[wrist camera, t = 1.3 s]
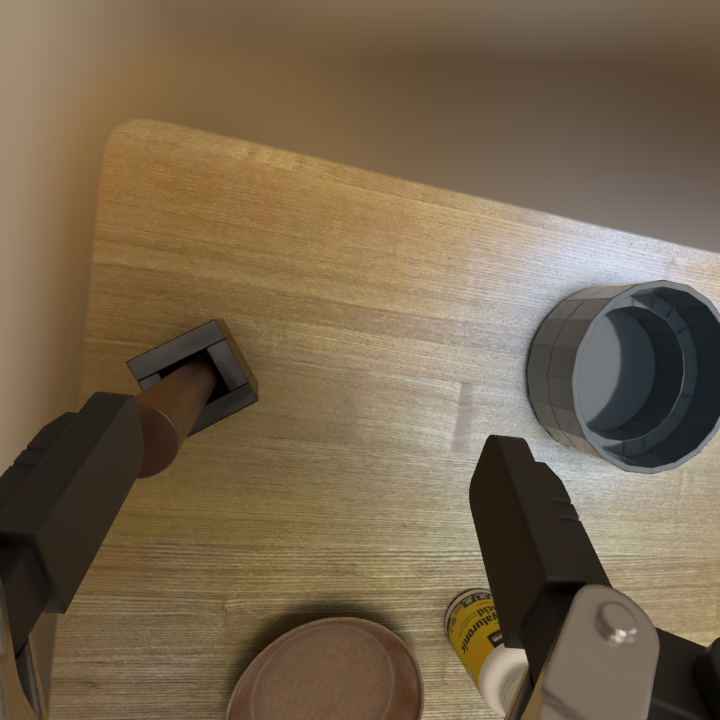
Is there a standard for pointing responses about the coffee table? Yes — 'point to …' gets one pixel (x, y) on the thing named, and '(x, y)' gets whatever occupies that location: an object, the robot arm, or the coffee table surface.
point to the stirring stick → (173, 411)
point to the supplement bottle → (484, 649)
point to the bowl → (630, 374)
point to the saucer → (331, 675)
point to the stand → (226, 357)
